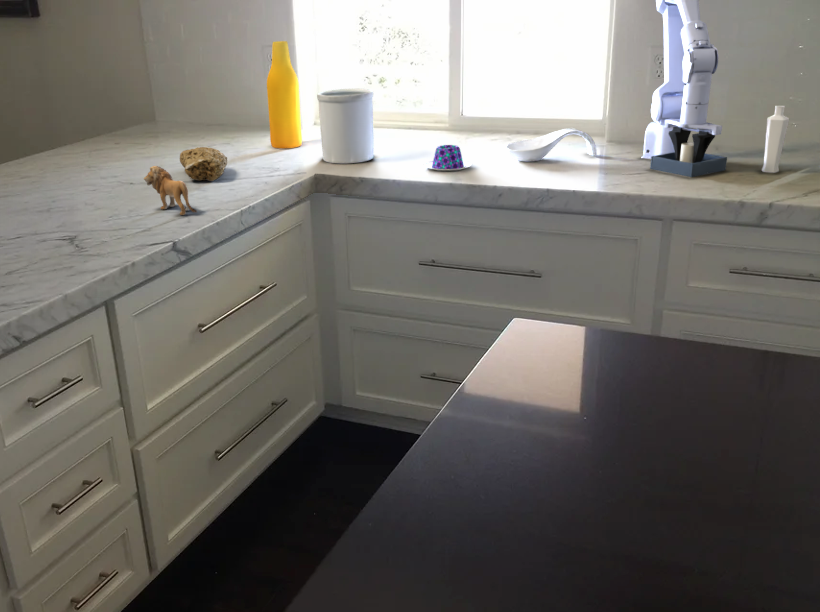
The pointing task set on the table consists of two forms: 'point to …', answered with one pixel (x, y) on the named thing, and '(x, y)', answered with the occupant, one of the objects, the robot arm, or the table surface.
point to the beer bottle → (283, 99)
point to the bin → (688, 165)
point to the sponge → (203, 163)
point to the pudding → (447, 159)
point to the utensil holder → (346, 125)
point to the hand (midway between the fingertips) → (688, 162)
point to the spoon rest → (545, 145)
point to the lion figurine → (168, 188)
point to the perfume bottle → (774, 139)
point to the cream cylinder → (687, 152)
